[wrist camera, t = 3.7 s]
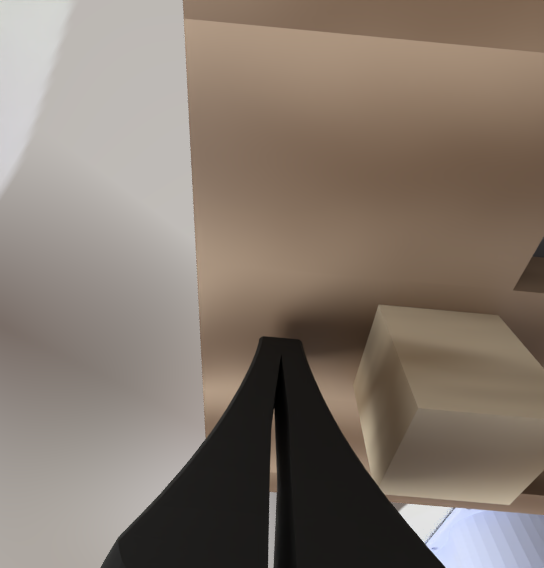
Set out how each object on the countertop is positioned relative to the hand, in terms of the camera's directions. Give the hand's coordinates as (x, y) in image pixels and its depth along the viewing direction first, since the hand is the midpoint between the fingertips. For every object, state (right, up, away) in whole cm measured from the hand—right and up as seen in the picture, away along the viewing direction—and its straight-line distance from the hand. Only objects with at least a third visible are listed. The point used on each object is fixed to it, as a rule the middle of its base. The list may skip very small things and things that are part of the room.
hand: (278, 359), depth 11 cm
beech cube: (+5, 0, +1) cm, 5 cm away
